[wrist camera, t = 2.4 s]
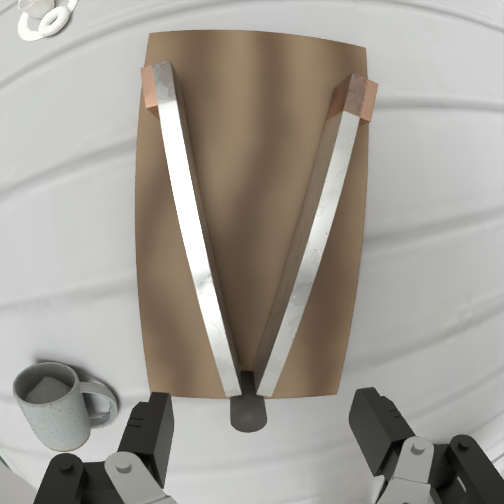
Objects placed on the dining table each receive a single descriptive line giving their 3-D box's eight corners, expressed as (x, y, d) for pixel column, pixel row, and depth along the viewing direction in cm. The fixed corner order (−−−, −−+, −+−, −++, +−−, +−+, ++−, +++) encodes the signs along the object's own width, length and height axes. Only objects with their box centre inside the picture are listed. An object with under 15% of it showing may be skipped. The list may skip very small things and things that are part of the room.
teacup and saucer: (78, 29, 19) (59, 12, 16) (15, 60, 19) (-6, 49, 15) (84, -27, 18) (70, -46, 14) (25, 2, 17) (8, -12, 13)
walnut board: (361, 51, 21) (392, 23, 15) (334, 388, 28) (353, 428, 22) (152, 38, 20) (132, 3, 14) (152, 388, 27) (138, 430, 21)
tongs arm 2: (240, 366, 26) (241, 394, 22) (217, 370, 25) (216, 398, 22) (179, 79, 20) (170, 60, 16) (154, 85, 20) (140, 68, 16)
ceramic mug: (52, 410, 27) (28, 449, 20) (33, 356, 26) (-1, 392, 18) (127, 424, 28) (111, 472, 21) (112, 368, 27) (87, 416, 19)
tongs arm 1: (274, 370, 26) (281, 398, 22) (252, 366, 26) (256, 394, 22) (356, 97, 21) (378, 84, 17) (334, 88, 21) (352, 72, 17)
